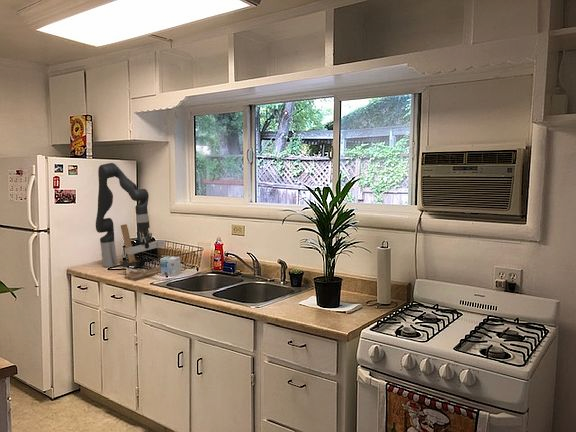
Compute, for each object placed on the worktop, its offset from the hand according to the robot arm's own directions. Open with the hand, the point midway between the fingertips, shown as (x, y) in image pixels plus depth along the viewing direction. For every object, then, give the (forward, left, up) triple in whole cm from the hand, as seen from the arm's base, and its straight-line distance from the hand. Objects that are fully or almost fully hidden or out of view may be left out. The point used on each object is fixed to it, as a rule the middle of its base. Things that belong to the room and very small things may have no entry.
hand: (145, 248), depth 300 cm
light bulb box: (+14, +7, -17) cm, 23 cm away
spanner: (0, 0, -1) cm, 1 cm away
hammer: (-26, +5, -17) cm, 32 cm away
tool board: (0, 0, -17) cm, 17 cm away
